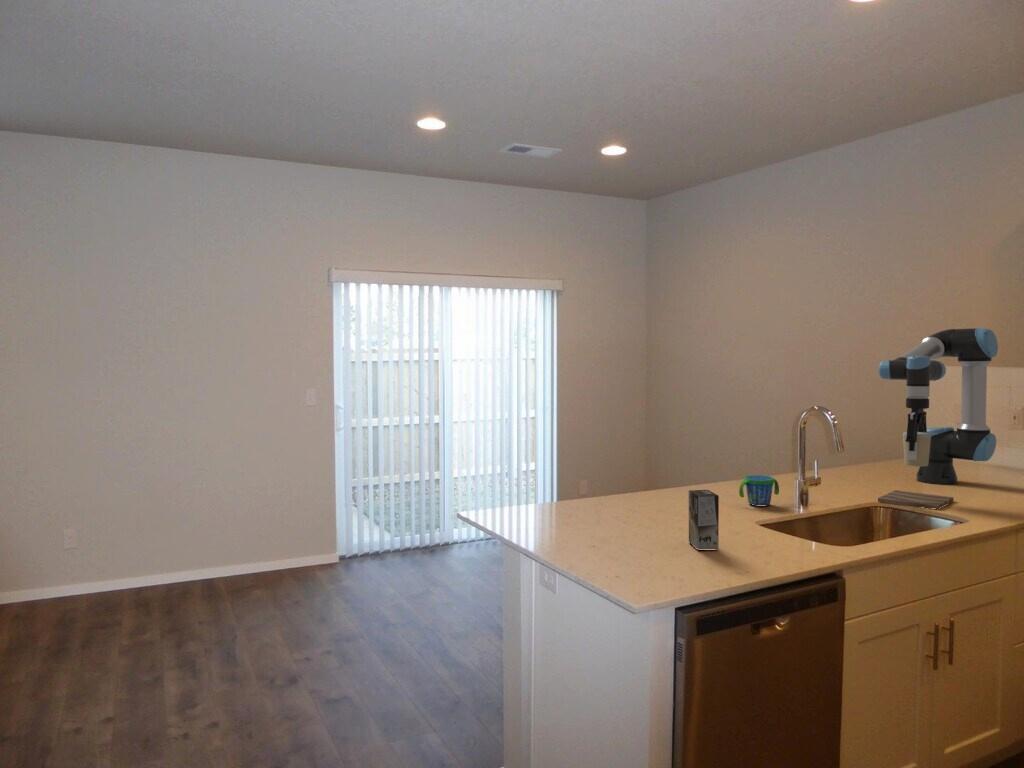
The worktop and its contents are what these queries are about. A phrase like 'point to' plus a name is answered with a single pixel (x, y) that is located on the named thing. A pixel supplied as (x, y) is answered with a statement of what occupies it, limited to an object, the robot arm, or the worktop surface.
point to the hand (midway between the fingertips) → (916, 458)
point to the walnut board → (915, 499)
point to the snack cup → (759, 489)
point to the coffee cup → (918, 449)
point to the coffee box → (703, 519)
